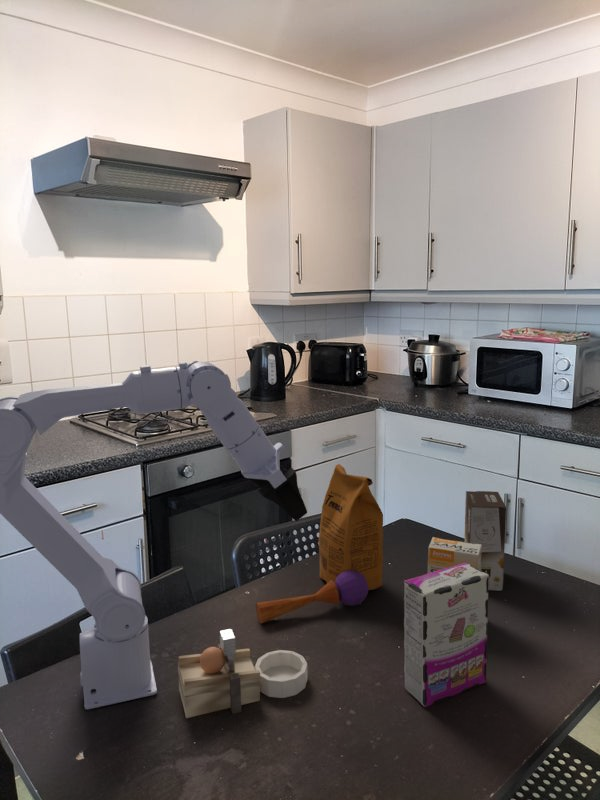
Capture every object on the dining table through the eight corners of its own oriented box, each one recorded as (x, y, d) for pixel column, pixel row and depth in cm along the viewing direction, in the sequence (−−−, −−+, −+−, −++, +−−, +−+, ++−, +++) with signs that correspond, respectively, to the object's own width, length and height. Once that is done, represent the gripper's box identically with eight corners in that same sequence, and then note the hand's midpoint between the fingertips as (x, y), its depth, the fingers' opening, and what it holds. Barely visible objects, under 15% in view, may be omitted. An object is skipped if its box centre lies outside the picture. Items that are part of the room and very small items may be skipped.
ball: (201, 680, 82) (203, 656, 81) (196, 665, 85) (198, 642, 84) (226, 677, 83) (228, 654, 82) (221, 663, 86) (223, 640, 86)
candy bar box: (462, 664, 91) (466, 560, 88) (487, 683, 86) (491, 574, 84) (400, 688, 86) (402, 578, 83) (423, 709, 81) (426, 594, 78)
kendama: (251, 591, 106) (356, 563, 112) (256, 625, 106) (361, 595, 112) (260, 600, 100) (371, 570, 106) (266, 636, 100) (376, 604, 107)
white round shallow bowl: (264, 702, 83) (263, 685, 83) (250, 671, 90) (249, 656, 90) (314, 690, 86) (313, 674, 85) (297, 661, 92) (296, 646, 92)
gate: (226, 677, 83) (224, 643, 82) (219, 660, 86) (218, 627, 85) (237, 674, 83) (236, 640, 82) (231, 657, 87) (229, 625, 86)
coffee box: (504, 591, 112) (507, 507, 109) (467, 590, 113) (470, 506, 110) (495, 569, 121) (498, 490, 118) (462, 567, 122) (464, 489, 119)
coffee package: (356, 565, 124) (356, 458, 120) (389, 591, 113) (390, 475, 109) (311, 574, 120) (310, 465, 116) (341, 603, 109) (340, 482, 105)
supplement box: (425, 620, 103) (426, 547, 101) (430, 606, 107) (431, 535, 105) (476, 630, 100) (478, 554, 98) (479, 615, 104) (482, 542, 102)
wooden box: (187, 724, 79) (185, 688, 78) (177, 685, 87) (175, 651, 86) (263, 706, 83) (262, 670, 82) (247, 669, 91) (246, 636, 90)
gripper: (279, 429, 81) (332, 506, 85) (251, 410, 94) (298, 477, 98) (236, 462, 79) (291, 538, 84) (214, 438, 93) (262, 505, 97)
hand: (292, 507), depth 91 cm, fingers open, 7 cm apart
